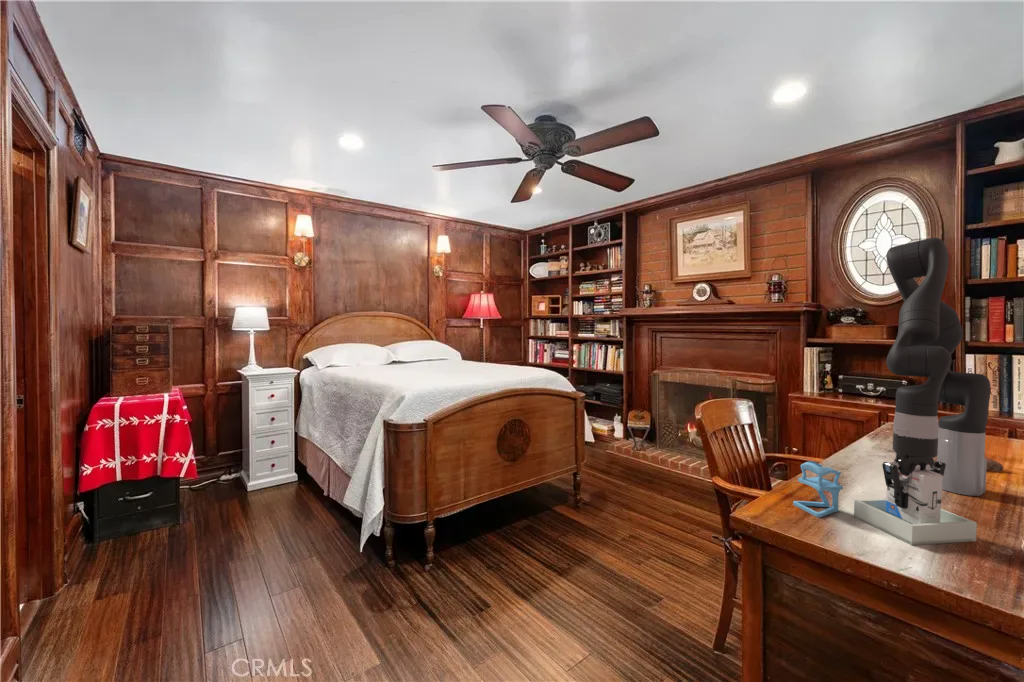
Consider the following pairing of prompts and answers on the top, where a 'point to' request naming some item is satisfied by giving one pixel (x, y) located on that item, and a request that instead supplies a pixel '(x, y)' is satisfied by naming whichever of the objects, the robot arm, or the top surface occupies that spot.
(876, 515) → the celadon dish
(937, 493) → the ink box
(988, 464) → the ceramic shard
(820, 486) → the chair
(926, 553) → the top surface
